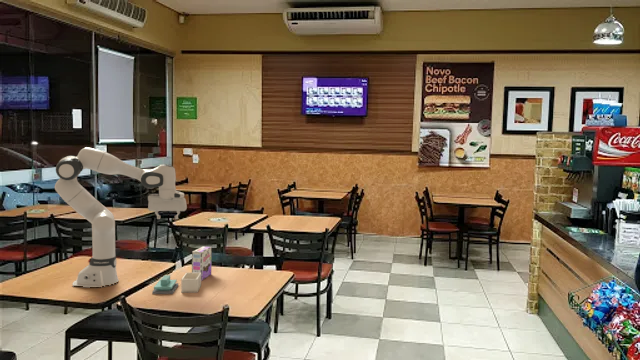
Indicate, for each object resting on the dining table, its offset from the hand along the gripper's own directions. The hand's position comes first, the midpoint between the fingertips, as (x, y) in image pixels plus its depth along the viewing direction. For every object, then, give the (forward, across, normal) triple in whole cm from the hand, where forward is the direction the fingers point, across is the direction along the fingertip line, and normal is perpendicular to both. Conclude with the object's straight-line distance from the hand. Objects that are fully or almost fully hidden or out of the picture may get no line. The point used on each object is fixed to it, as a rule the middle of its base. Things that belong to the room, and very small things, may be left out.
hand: (167, 218), depth 264 cm
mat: (+34, +3, -18) cm, 39 cm away
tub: (+34, +16, -17) cm, 41 cm away
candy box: (+34, +18, +4) cm, 39 cm away
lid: (+33, +3, -18) cm, 38 cm away
